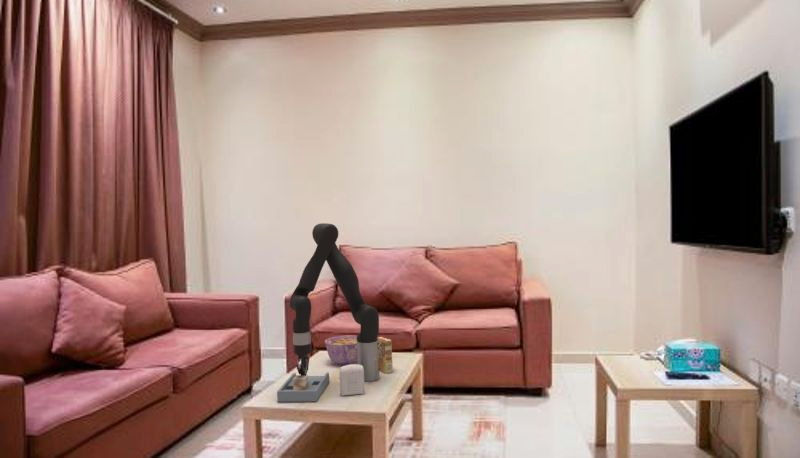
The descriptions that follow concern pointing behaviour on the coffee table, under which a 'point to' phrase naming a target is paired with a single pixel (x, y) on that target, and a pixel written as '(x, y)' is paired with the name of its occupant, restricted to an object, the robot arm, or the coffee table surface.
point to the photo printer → (351, 380)
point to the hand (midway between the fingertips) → (304, 382)
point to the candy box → (385, 354)
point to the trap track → (309, 395)
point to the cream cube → (300, 382)
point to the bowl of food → (342, 349)
